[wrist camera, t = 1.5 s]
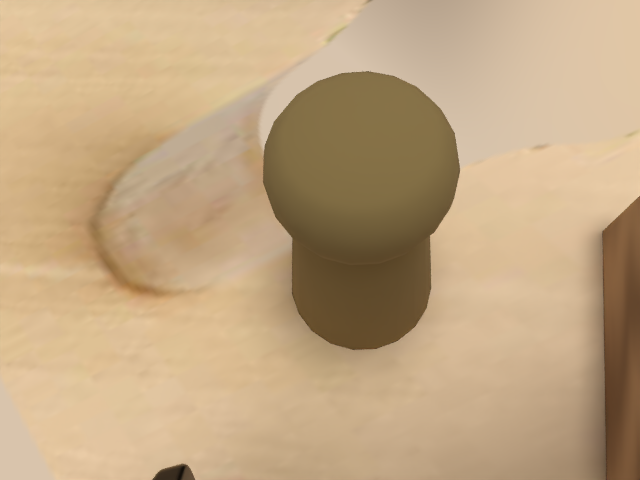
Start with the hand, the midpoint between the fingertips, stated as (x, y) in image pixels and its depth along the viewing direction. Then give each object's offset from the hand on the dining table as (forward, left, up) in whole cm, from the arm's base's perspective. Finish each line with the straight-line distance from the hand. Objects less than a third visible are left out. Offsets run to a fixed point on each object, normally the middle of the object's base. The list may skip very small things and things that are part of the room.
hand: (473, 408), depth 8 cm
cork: (+6, +3, -13) cm, 14 cm away
